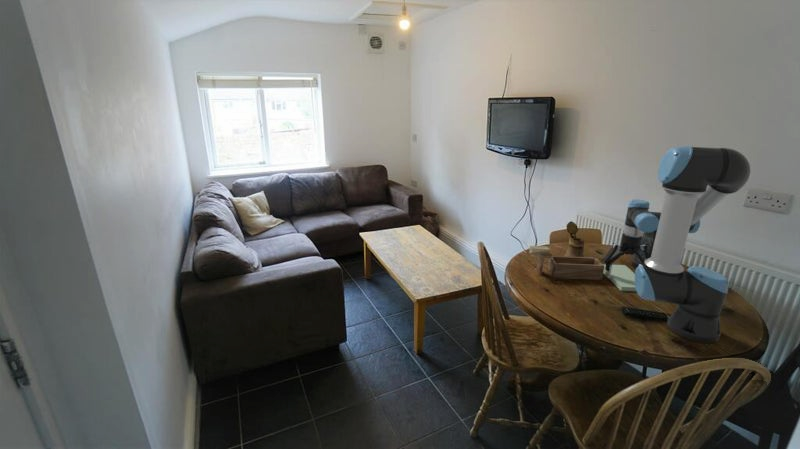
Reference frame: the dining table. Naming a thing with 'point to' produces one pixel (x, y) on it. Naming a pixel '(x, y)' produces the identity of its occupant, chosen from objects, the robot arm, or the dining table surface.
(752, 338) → the dining table surface
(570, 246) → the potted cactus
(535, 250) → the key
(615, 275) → the lid
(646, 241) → the beer stein
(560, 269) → the toolbox
